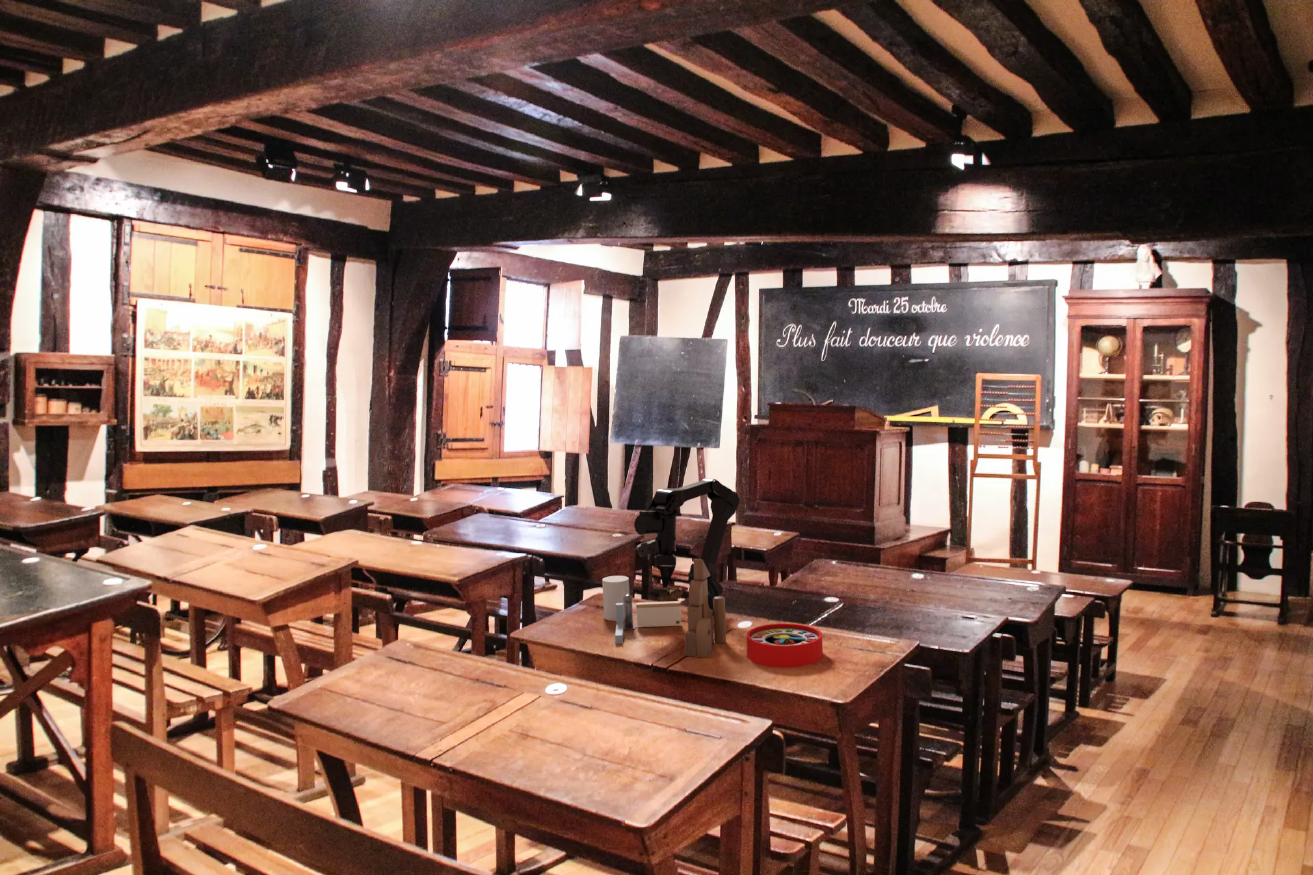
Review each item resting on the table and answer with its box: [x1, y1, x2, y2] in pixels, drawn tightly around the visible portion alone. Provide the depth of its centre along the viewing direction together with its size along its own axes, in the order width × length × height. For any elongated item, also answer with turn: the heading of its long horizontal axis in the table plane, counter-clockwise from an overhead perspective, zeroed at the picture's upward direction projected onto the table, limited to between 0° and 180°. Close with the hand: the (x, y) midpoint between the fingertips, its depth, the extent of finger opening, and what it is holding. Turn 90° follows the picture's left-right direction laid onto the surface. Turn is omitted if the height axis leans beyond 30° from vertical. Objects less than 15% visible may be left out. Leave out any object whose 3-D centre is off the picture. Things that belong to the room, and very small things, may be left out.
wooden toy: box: [684, 558, 727, 658], centre depth 267 cm, size 16×7×25 cm, turn 157°
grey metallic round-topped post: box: [623, 594, 636, 631], centre depth 290 cm, size 4×4×10 cm
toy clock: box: [746, 623, 824, 668], centre depth 260 cm, size 20×6×20 cm
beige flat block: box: [636, 600, 682, 628], centre depth 290 cm, size 13×2×7 cm, turn 90°
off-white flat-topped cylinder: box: [601, 575, 630, 622], centre depth 301 cm, size 8×8×12 cm
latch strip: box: [614, 603, 625, 645], centre depth 281 cm, size 2×14×8 cm, turn 0°
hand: (665, 584), depth 289 cm, fingers open, 9 cm apart
